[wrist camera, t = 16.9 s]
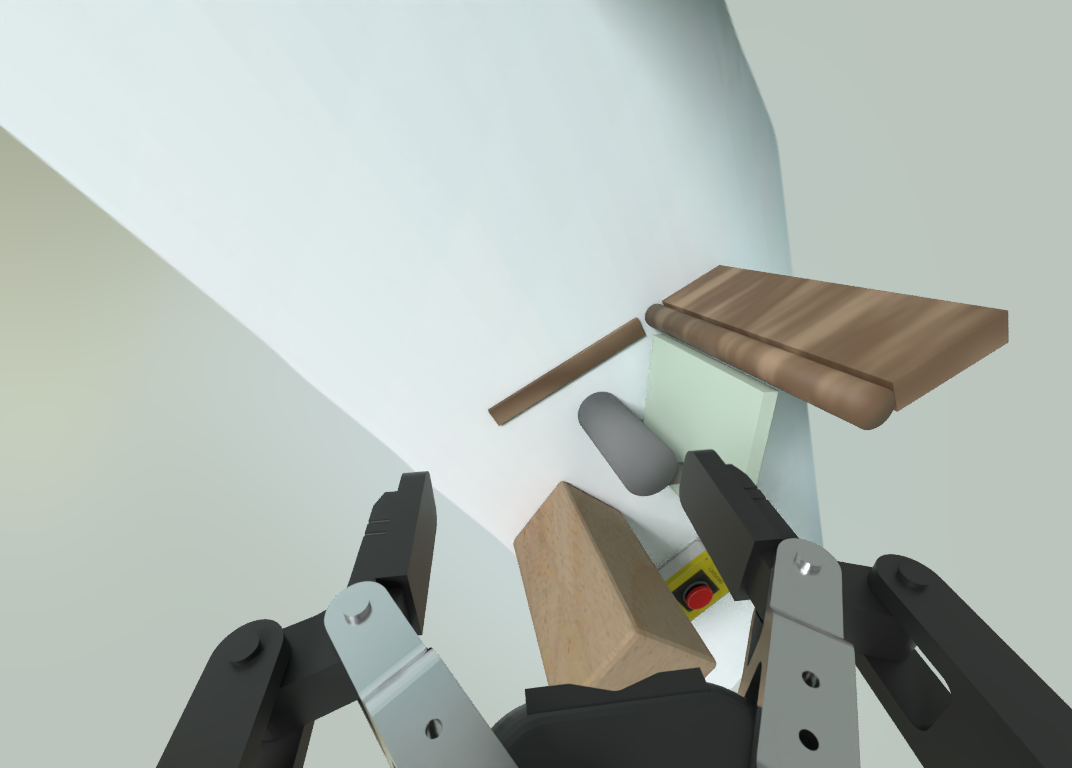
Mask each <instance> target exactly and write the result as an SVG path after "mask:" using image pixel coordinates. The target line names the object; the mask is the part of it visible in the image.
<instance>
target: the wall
mask: <svg viewBox="0 0 1072 768" xmlns="http://www.w3.org/2000/svg"><path fill="white" fill-rule="evenodd" d="M662 302H663V305H661V304H654V305H652V306H650V307H649V308H648V309H647V311H646V314H645V320H646V322H647V324H648V325H650V326H652V327H654V328H656V329H658V330H660V331H662V332H664V333H666V334H668V335H670V336H672V337H674V338H676V339H678V340H680V341H682V342H685V343H687V344H689V345H691V346H693V347H695V348H697V349H699V350H701V351H703V352H705V353H707V354H709V355H711V356H713V357H715V358H717V359H719V360H722V361H724V362H726V363H728V364H730V365H732V366H734V367H736V368H738V369H740V370H742V371H744V372H746V373H748V374H750V375H752V376H754V377H756V378H759V379H761V380H763V381H765V382H767V383H769V384H771V385H773V386H775V387H777V388H779V389H781V390H783V391H785V392H787V393H789V394H791V395H793V396H795V397H798V398H800V399H802V400H804V401H806V402H808V403H810V404H812V405H814V406H816V407H818V408H820V409H822V410H824V411H826V412H828V413H830V414H833V415H835V416H837V417H839V418H841V419H843V420H845V421H847V422H849V423H851V424H853V425H855V426H857V427H859V428H861V429H864V430H871V429H874V428H877V427H878V426H880V425H881V424H883V423H884V422H885V421H886V420H887V419H888V418H889V416H890V415H891V413H892V411H893V410H895V411H899V410H901V409H902V408H904V407H906V406H907V405H909V404H910V403H912V402H914V401H915V400H917V399H918V398H920V397H922V396H923V395H925V394H926V393H928V392H929V391H931V390H933V389H934V388H936V387H937V386H939V385H941V384H942V383H944V382H945V381H947V380H949V379H950V378H952V377H954V376H955V375H957V374H958V373H960V372H962V371H963V370H965V369H966V368H968V367H969V366H971V365H973V364H974V363H976V362H978V361H979V360H980V359H982V358H984V357H985V356H987V355H989V354H990V353H992V352H993V351H995V350H996V349H998V348H1000V347H1002V346H1003V345H1005V344H1006V343H1008V311H1007V310H1000V309H995V308H988V307H982V306H975V305H969V304H963V303H956V302H950V301H944V300H937V299H931V298H924V297H918V296H912V295H905V294H899V293H893V292H887V291H880V290H874V289H867V288H861V287H855V286H848V285H842V284H835V283H829V282H823V281H816V280H810V279H804V278H798V277H791V276H785V275H779V274H772V273H766V272H759V271H753V270H747V269H740V268H734V267H728V266H721V265H719V266H717V267H716V268H714V269H713V270H711V271H709V272H708V273H706V274H705V275H703V276H701V277H700V278H698V279H697V280H695V281H693V282H692V283H690V284H689V285H687V286H685V287H684V288H682V289H681V290H679V291H677V292H676V293H674V294H673V295H671V296H669V297H668V298H666V299H665V300H663V301H662ZM644 335H645V333H644V331H643V329H642V326H641V324H640V322H639V320H638V318H634V319H633V320H631V321H629V322H628V323H626V324H625V325H623V326H621V327H620V328H618V329H617V330H615V331H613V332H612V333H610V334H609V335H607V336H605V337H604V338H602V339H601V340H599V341H597V342H596V343H594V344H593V345H591V346H589V347H588V348H586V349H585V350H583V351H581V352H580V353H578V354H577V355H575V356H573V357H572V358H570V359H569V360H567V361H565V362H564V363H562V364H561V365H559V366H557V367H556V368H554V369H553V370H551V371H549V372H548V373H546V374H545V375H543V376H541V377H540V378H538V379H537V380H535V381H533V382H532V383H530V384H529V385H527V386H525V387H524V388H522V389H521V390H519V391H517V392H516V393H514V394H512V395H511V396H509V397H508V398H506V399H504V400H503V401H501V402H500V403H498V404H496V405H495V406H493V407H492V408H490V409H488V411H489V413H490V414H491V416H492V417H493V418H494V420H495V421H496V423H497V424H498V425H499V426H500V425H501V424H503V423H504V422H506V421H508V420H509V419H511V418H512V417H514V416H516V415H517V414H519V413H520V412H522V411H524V410H525V409H527V408H528V407H530V406H532V405H533V404H535V403H536V402H538V401H540V400H541V399H543V398H544V397H546V396H548V395H549V394H551V393H552V392H554V391H556V390H557V389H559V388H560V387H562V386H564V385H565V384H567V383H568V382H570V381H572V380H573V379H575V378H576V377H578V376H580V375H581V374H583V373H584V372H586V371H588V370H589V369H591V368H592V367H594V366H596V365H597V364H599V363H600V362H602V361H604V360H605V359H607V358H608V357H610V356H612V355H613V354H615V353H616V352H618V351H620V350H621V349H623V348H624V347H626V346H628V345H629V344H631V343H632V342H634V341H636V340H637V339H639V338H640V337H642V336H644Z"/></svg>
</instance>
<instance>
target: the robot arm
mask: <svg viewBox="0 0 1072 768" xmlns="http://www.w3.org/2000/svg"><path fill="white" fill-rule="evenodd" d="M679 497H680V501H681V505H682V507H683V509H684V511H685V513H686V514H687V516H688V518H689V520H690V522H691V523H692V525H693V527H694V529H695V531H696V532H697V534H698V536H699V538H700V540H701V541H702V543H703V545H704V547H705V549H706V550H707V552H708V554H709V556H710V558H711V559H712V561H713V563H714V565H715V567H716V568H717V570H718V572H719V574H720V576H721V577H722V579H723V581H724V583H725V585H726V586H727V588H728V590H729V592H730V594H731V595H732V597H733V599H734V601H741V600H751V601H752V603H753V605H754V607H755V609H754V611H753V615H752V621H751V627H750V633H749V639H748V645H747V651H746V657H745V663H744V669H743V675H742V679H741V683H740V687H739V690H738V694H737V693H735V692H733V691H731V690H729V689H727V688H724V687H722V686H719V685H715V684H712V683H708V682H706V681H705V678H704V676H703V673H702V671H701V669H700V667H697V668H689V669H681V670H673V671H665V672H658V673H656V674H654V675H651V676H649V677H647V678H645V679H643V680H641V681H639V682H636V683H634V684H632V685H630V686H628V687H626V688H624V689H622V690H618V691H611V690H605V689H599V688H593V687H587V686H581V685H575V684H561V685H553V686H545V687H538V688H530V689H525V696H526V704H523V705H521V706H519V707H518V708H515V709H514V710H512V711H511V712H509V713H508V714H506V715H505V716H504V717H503V718H501V719H500V720H499V721H498V722H497V723H496V724H495V725H494V726H493V727H492V728H490V727H489V725H488V724H487V723H486V721H485V720H484V718H483V717H482V715H481V714H480V713H479V711H478V710H477V708H476V707H475V706H474V704H473V703H472V701H471V700H470V698H469V697H468V696H467V694H466V693H465V692H464V690H463V689H462V687H461V686H460V684H459V683H458V681H457V680H456V679H455V678H454V676H453V674H452V673H451V672H450V670H449V669H448V667H447V666H446V664H445V663H444V662H443V660H442V659H441V657H440V656H439V655H438V654H437V653H436V651H435V650H434V649H433V648H429V649H428V648H427V647H426V646H425V645H424V644H423V643H422V641H421V639H420V638H419V637H418V635H422V632H423V625H424V618H425V610H426V603H427V595H428V588H429V580H430V573H431V565H432V558H433V550H434V543H435V535H436V526H437V515H436V506H435V501H434V495H433V490H432V484H431V478H430V474H429V472H428V471H425V472H413V473H403V474H402V477H401V480H400V484H399V488H398V491H395V492H385V493H384V494H383V495H382V496H381V498H380V499H379V500H378V501H377V502H376V503H375V505H374V506H373V509H372V512H371V515H370V518H369V524H368V525H367V528H366V531H365V536H364V537H363V540H362V543H361V546H360V549H359V552H358V556H357V559H356V562H355V565H354V568H353V571H352V574H351V577H350V581H349V584H348V586H347V588H346V589H344V590H343V591H341V592H340V593H339V594H338V595H337V596H336V597H335V598H334V599H333V600H332V601H331V603H330V605H329V606H328V608H327V609H326V610H325V611H323V612H322V613H320V614H318V615H316V616H314V617H311V618H309V619H306V620H304V621H301V622H299V623H296V624H294V625H291V626H288V627H286V628H283V629H282V627H281V626H280V625H279V624H278V623H277V622H275V621H273V620H267V619H263V620H256V621H253V622H250V623H247V624H245V625H243V626H241V627H239V628H238V629H236V630H235V631H234V632H232V633H231V634H229V635H228V636H227V637H226V638H225V639H224V640H223V641H222V642H221V643H220V644H219V645H218V646H217V648H216V649H215V650H214V652H213V653H212V655H211V657H210V659H209V661H208V663H207V665H206V667H205V669H204V671H203V673H202V675H201V677H200V679H199V681H198V683H197V685H196V687H195V689H194V691H193V693H192V696H191V697H190V700H189V701H188V704H187V706H186V708H185V710H184V712H183V714H182V716H181V718H180V720H179V722H178V724H177V726H176V728H175V730H174V732H173V734H172V736H171V738H170V740H169V742H168V744H167V747H166V748H165V750H164V752H163V755H162V757H161V759H160V761H159V763H158V765H157V767H156V768H303V765H304V761H305V757H306V753H307V749H308V745H309V741H310V737H311V733H312V729H313V725H314V721H315V720H316V719H318V718H320V717H322V716H325V715H327V714H329V713H331V712H333V711H335V710H337V709H339V708H341V707H343V706H345V705H348V704H350V703H351V702H354V701H356V700H357V701H358V703H359V705H360V707H361V709H362V711H363V713H364V715H365V717H366V719H367V721H368V723H369V725H370V727H371V729H372V731H373V733H374V735H375V737H376V739H377V741H378V743H379V745H380V747H381V749H382V751H383V753H384V755H385V757H386V759H387V761H388V763H389V765H390V768H860V751H859V730H858V711H857V691H856V673H855V672H856V671H855V665H856V666H857V668H858V669H859V671H860V672H861V674H862V675H863V677H864V678H865V680H866V681H867V683H868V684H869V686H870V687H871V689H872V690H873V692H874V693H875V695H876V696H877V698H878V699H879V701H880V702H881V704H882V705H883V707H884V708H885V710H886V711H887V713H888V714H889V716H890V717H891V719H892V720H893V722H894V723H895V725H896V726H897V728H898V729H899V731H900V732H901V734H902V735H903V737H904V738H905V739H906V741H907V743H908V744H909V746H910V747H911V749H912V750H913V752H914V753H915V755H916V756H917V758H918V759H919V761H920V762H921V764H922V765H923V767H924V768H1072V709H1071V708H1070V707H1069V706H1068V705H1067V704H1066V703H1065V702H1064V701H1063V700H1062V699H1061V698H1060V697H1059V696H1058V695H1057V694H1056V693H1055V692H1054V691H1053V690H1052V689H1051V688H1050V687H1049V686H1048V685H1047V684H1046V683H1045V682H1044V681H1043V680H1042V679H1041V678H1040V677H1039V676H1038V675H1037V674H1036V673H1035V672H1034V671H1033V670H1032V669H1031V668H1030V667H1029V666H1028V665H1027V664H1026V663H1025V662H1024V661H1023V660H1022V659H1021V658H1020V657H1019V656H1018V655H1017V654H1016V653H1015V652H1014V651H1013V650H1012V649H1011V648H1010V647H1009V646H1008V645H1007V644H1006V643H1005V642H1004V641H1003V640H1002V639H1001V638H1000V637H999V636H998V635H997V634H996V633H995V632H994V631H993V630H992V629H991V628H990V627H989V626H988V625H987V624H986V623H985V622H984V621H983V620H982V619H981V618H980V617H979V616H978V615H977V614H976V613H975V612H974V611H973V610H972V609H971V608H970V607H969V606H968V605H967V604H966V603H965V602H964V601H963V600H962V599H961V598H960V597H959V596H958V595H957V594H956V593H955V592H954V591H953V590H952V589H951V588H950V587H949V586H948V585H947V584H946V583H945V582H944V581H943V580H942V579H941V578H940V577H939V576H938V575H937V574H936V573H935V572H933V571H932V570H931V569H929V568H928V567H926V566H925V565H923V564H921V563H919V562H917V561H915V560H913V559H910V558H907V557H904V556H900V555H894V554H888V555H883V556H881V557H879V558H878V559H877V561H876V563H875V564H874V566H873V567H868V566H862V565H856V564H850V563H844V562H839V561H837V560H836V559H835V558H834V557H833V556H832V555H831V554H830V553H829V552H828V551H826V550H825V549H824V548H822V547H821V546H819V545H817V544H815V543H813V542H810V541H807V540H803V539H799V538H798V537H797V535H796V534H795V533H794V532H793V530H792V529H791V528H790V527H789V525H788V524H787V523H786V522H785V521H784V519H783V518H782V517H781V516H780V514H779V513H778V512H777V511H776V510H775V508H774V507H773V506H772V505H771V503H770V502H769V501H768V500H766V497H765V496H764V495H763V494H762V492H761V491H760V490H758V489H757V486H756V485H755V484H754V482H753V481H752V480H751V479H750V478H749V476H748V475H747V474H746V473H744V472H743V471H741V470H740V469H738V468H737V467H735V466H734V465H733V464H725V463H724V461H723V460H722V459H721V458H720V456H719V455H718V454H717V452H716V451H715V450H713V449H706V450H693V451H688V452H687V453H686V455H685V460H684V465H683V470H682V476H681V481H680V486H679ZM916 646H918V647H919V649H920V650H921V651H922V652H923V654H924V655H925V656H926V657H927V658H928V660H929V661H930V662H931V663H932V665H933V666H934V667H935V668H936V669H937V671H938V672H939V673H940V674H941V676H942V677H943V678H944V680H945V681H946V683H947V685H948V687H949V689H950V692H951V694H950V692H949V691H948V690H947V689H946V687H945V686H944V685H943V684H942V683H941V681H940V680H939V679H938V677H937V676H936V675H935V674H934V672H933V671H932V670H931V669H930V668H929V666H928V665H927V664H926V662H925V661H924V660H923V659H922V657H920V655H919V654H918V653H917V651H916V650H915V649H914V648H915V647H916Z"/></svg>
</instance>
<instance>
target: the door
mask: <svg viewBox="0 0 1072 768" xmlns="http://www.w3.org/2000/svg"><path fill="white" fill-rule="evenodd" d="M777 396H778V391H777V390H775V389H773V388H771V387H769V386H767V385H765V384H763V383H761V382H759V381H757V380H755V379H753V378H751V377H749V376H747V375H745V374H743V373H741V372H739V371H737V370H735V369H733V368H731V367H729V366H727V365H725V364H723V363H721V362H719V361H717V360H715V359H713V358H711V357H709V356H707V355H705V354H703V353H701V352H699V351H697V350H695V349H693V348H691V347H689V346H687V345H684V344H682V343H680V342H678V341H676V340H674V339H672V338H670V337H668V336H666V335H664V334H658V335H653V340H652V349H651V358H650V367H649V376H648V385H647V394H646V403H645V412H644V421H643V423H644V424H645V425H646V426H647V427H648V428H649V429H650V430H651V431H652V432H653V433H654V434H655V435H656V436H657V437H658V438H659V439H660V440H661V441H662V442H663V443H664V444H665V445H667V446H668V447H669V448H670V449H671V450H672V451H673V453H674V454H675V456H676V458H677V470H676V473H675V476H674V478H673V479H672V481H671V482H670V483H669V484H668V485H669V486H670V487H671V488H672V489H673V491H674V492H675V493H676V494H677V495H678V496H679V486H680V481H681V476H682V470H683V465H684V460H685V455H686V453H687V452H688V451H693V450H706V449H713V450H715V451H716V452H717V454H718V455H719V456H720V458H721V459H722V460H723V461H724V463H725V464H733V465H734V466H735V467H737V468H738V469H740V470H741V471H743V472H744V473H746V474H747V475H748V476H749V478H750V479H751V480H752V481H753V482H754V484H755V485H757V481H758V477H759V472H760V468H761V464H762V460H763V455H764V451H765V447H766V443H767V438H768V434H769V430H770V425H771V421H772V417H773V413H774V408H775V404H776V400H777Z"/></svg>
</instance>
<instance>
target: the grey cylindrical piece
mask: <svg viewBox="0 0 1072 768" xmlns="http://www.w3.org/2000/svg"><path fill="white" fill-rule="evenodd" d="M578 420H579V423H580V425H581V426H582V428H583V429H584V430H585V432H586V433H587V435H588V436H589V437H590V439H591V440H592V441H593V443H594V444H595V446H596V447H597V448H598V450H599V451H600V452H601V454H602V455H603V457H604V458H605V459H606V461H607V462H608V463H609V465H610V466H611V468H612V469H613V470H614V472H615V473H616V474H617V476H618V477H619V479H620V480H621V481H622V483H623V484H624V485H625V487H626V488H627V489H628V491H630V492H631V493H633V494H635V495H638V496H649V495H653V494H656V493H658V492H660V491H661V490H663V489H664V488H665V487H667V486H668V484H669V483H670V482H671V481H672V479H673V478H674V476H675V473H676V470H677V458H676V456H675V454H674V453H673V451H672V450H671V449H670V448H669V447H668V446H667V445H665V444H664V443H663V442H662V441H661V440H660V439H659V438H658V437H657V436H656V435H655V434H654V433H653V432H652V431H651V430H650V429H649V428H648V427H647V426H646V425H645V424H644V423H642V422H641V421H640V420H639V419H638V418H637V417H636V416H635V415H634V414H633V413H632V412H631V411H630V410H629V409H628V408H627V407H626V406H625V405H624V404H623V403H622V402H621V401H619V400H618V399H617V398H616V397H615V396H614V395H613V394H611V393H608V392H597V393H594V394H592V395H590V396H589V397H587V398H586V399H585V400H584V401H583V403H582V404H581V406H580V408H579V411H578Z"/></svg>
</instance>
